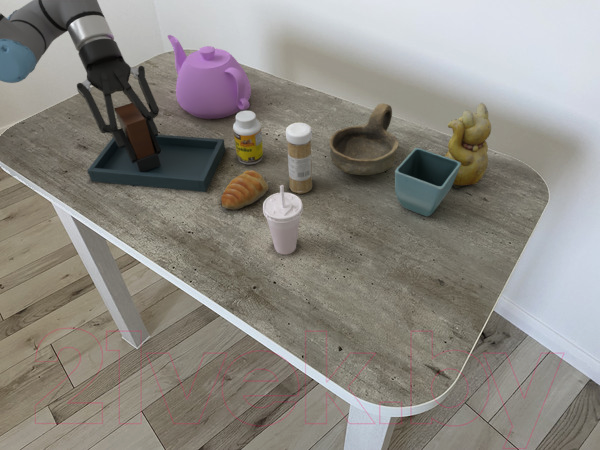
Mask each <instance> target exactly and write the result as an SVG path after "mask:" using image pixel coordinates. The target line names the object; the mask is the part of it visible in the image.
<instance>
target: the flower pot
mask: <svg viewBox="0 0 600 450" xmlns="http://www.w3.org/2000/svg"><path fill="white" fill-rule="evenodd" d="M460 166H461V162H458V161H456V160H453V159H450V158H447V157H445V155H444V156H443V155H442V154H441V155H440V154H437V153H435V152H432V151H429V150H426V149H423V148H420V147H415V148H413V150H412V151H411V152H410V153H409V154H408V155H407V156H406V158H404V160H403V161H402V162H401V163H400V164H399V165H398V166H397V167H396V168H395V170H394V191H395V196H396V199H397V201H398V202H399V204H400V206H402V207H403V208H404V209H406V210H409V211H411V212H413V213H417V214H419V215H421V216H424V217H427V218H428V217H429V216H431V215H432V214H433V213H435V211H436V210H437V208H438V207H439V206H440V204H441V203H442V201H443V200H444V199H445V197H446V196H447V195H448V194H449V192H450V190H451V189H452V188H453V183H454V180H455V178H456V176H457V173H458V171H459V168H460Z"/></svg>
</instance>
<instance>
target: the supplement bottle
mask: <svg viewBox="0 0 600 450" xmlns="http://www.w3.org/2000/svg"><path fill="white" fill-rule="evenodd" d="M232 131H233V139H234V145H235V152H236V158H237V160H238V162H240V163H241V164H243V165H255V164H258V163H259V162H261V161H262V160H263V158H264V146H263V135H262V124H261V123H260V121H259V120H258V119H257V115H256V113H255V112H254V111H252V110H240V111H238V112H237V113H236V115H235V122H233V126H232Z"/></svg>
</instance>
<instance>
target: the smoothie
mask: <svg viewBox="0 0 600 450" xmlns="http://www.w3.org/2000/svg"><path fill="white" fill-rule="evenodd" d="M303 211H304V206H303V201H302V199H301V198H300V197H299V196H297V195H296V194H295V193H291V192H285V187H284V184H280V185H279V192H276V193H273V194H270V195H269V196H268V197H267V198H265V200H264V201H263V203H262V213H263V215H264V217H265V218H266V222H267V225H268V228H269V232H270V235H271V239H272V244H273V247H274V250H275V251H276V253H278V254H280V255H285V256H286V255H290V254H292V253H294V252H295V251H296V249H297V243H298V234H299V227H300V220H301V216H302V214H303Z"/></svg>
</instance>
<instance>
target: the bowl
mask: <svg viewBox="0 0 600 450" xmlns="http://www.w3.org/2000/svg"><path fill="white" fill-rule="evenodd" d="M392 118H393V108H392V106H391V105H390V104H387V103H385V102H381V103H379V104H377V105H376V106H375V107H374V108H373V110H372V112H371V114H370V116H369V118H368V121H367V122H366V123H365V124H357V125H352V126H347V127H343V128H341V129H338V130H337V131H335V132H334V133H333V134H331V136H330V138H329V144H328V145H329V155H330V156H329V157H330V159H331V162H332V163H333V164H334V166H335V167H337V168H338V169H339V170H340V171H342V172H344V173H346V174H351V175H357V176H371V175H377V174H381V173H384V172H386V171H388V170H391V169H392V168H393V167H394V164H395V160H396V153H397V150H398V148H399V146H400V143H399V140H398V138H397V136H395V135H394V134H393V133H392V132H389V131H387V130H388V128H389V126H390V124H391V121H392Z"/></svg>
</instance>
